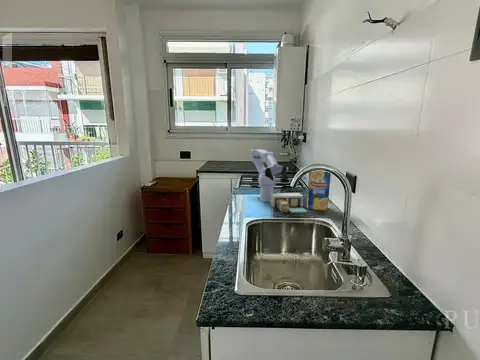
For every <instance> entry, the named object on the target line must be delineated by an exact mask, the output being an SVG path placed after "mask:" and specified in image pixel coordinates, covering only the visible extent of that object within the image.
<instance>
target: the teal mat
mask: <svg viewBox="0 0 480 360" xmlns="http://www.w3.org/2000/svg"><path fill="white" fill-rule="evenodd" d="M289 212H290V213H291V214H294V213H295V214H299V213H308V210H307V209H305V208H304V207H289Z"/></svg>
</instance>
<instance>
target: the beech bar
mask: <svg viewBox="0 0 480 360" xmlns="http://www.w3.org/2000/svg"><path fill="white" fill-rule="evenodd" d="M275 207H276V208H277V209H278V210H279V211H280V212H281V213H289V212H290V211H289V208H290V205H289V204H288V203H287V202H286V201H285V200H284V199H282V198H281V199H276V204H275Z"/></svg>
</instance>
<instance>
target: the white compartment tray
mask: <svg viewBox="0 0 480 360" xmlns="http://www.w3.org/2000/svg"><path fill="white" fill-rule="evenodd" d="M281 198H282V199H284V200H285V201H286V202H287V203H288V204H289V207H298V206H299V207H300V208H304V195H303V194H302V193H301V192H274V193H270V202H269V204H270V206H271V207H272V208H275V207H276V206H275V204H276V199H281Z"/></svg>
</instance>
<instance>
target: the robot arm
mask: <svg viewBox="0 0 480 360" xmlns="http://www.w3.org/2000/svg"><path fill="white" fill-rule="evenodd" d="M249 157H250V158H249V159H250V160H251V162H252V163H253V164H254V165H255V167H256V170H257V172H258V174H259V175H258V178H257V179H258V185H259V186H260V190H259V191H260V195H259V197H258V200H260V202H261V203H270V193H273V192H274V187H275V186H276V185H277V178H276V176H275V175H277V174H281V176H282V177H283V178H284V180H288V174H287V172H289V167H287V166H285V165H284V166H282V165H279V163H278V162H277V160H276V156H275V152H274V151H270V150H267V149H252V148H251V149H250V151H249ZM264 163H265V164H266V165H267V167H265V165H264Z"/></svg>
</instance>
